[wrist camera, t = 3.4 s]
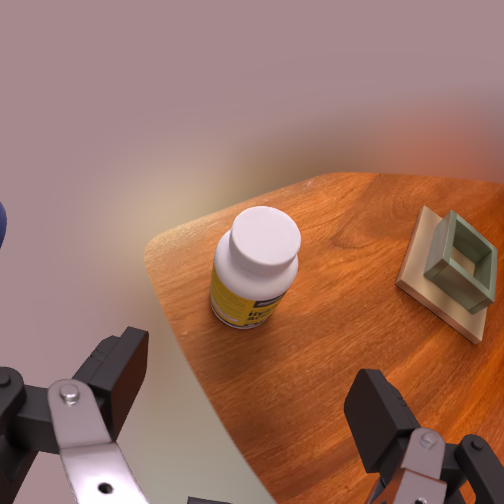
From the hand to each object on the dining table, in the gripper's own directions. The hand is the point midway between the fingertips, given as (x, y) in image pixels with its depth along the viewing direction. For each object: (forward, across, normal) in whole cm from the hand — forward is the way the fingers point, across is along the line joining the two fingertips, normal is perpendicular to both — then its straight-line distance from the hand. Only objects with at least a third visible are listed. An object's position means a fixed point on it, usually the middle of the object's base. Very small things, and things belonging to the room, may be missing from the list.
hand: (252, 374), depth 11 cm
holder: (+20, -24, -2) cm, 31 cm away
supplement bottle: (+15, 0, +3) cm, 15 cm away
